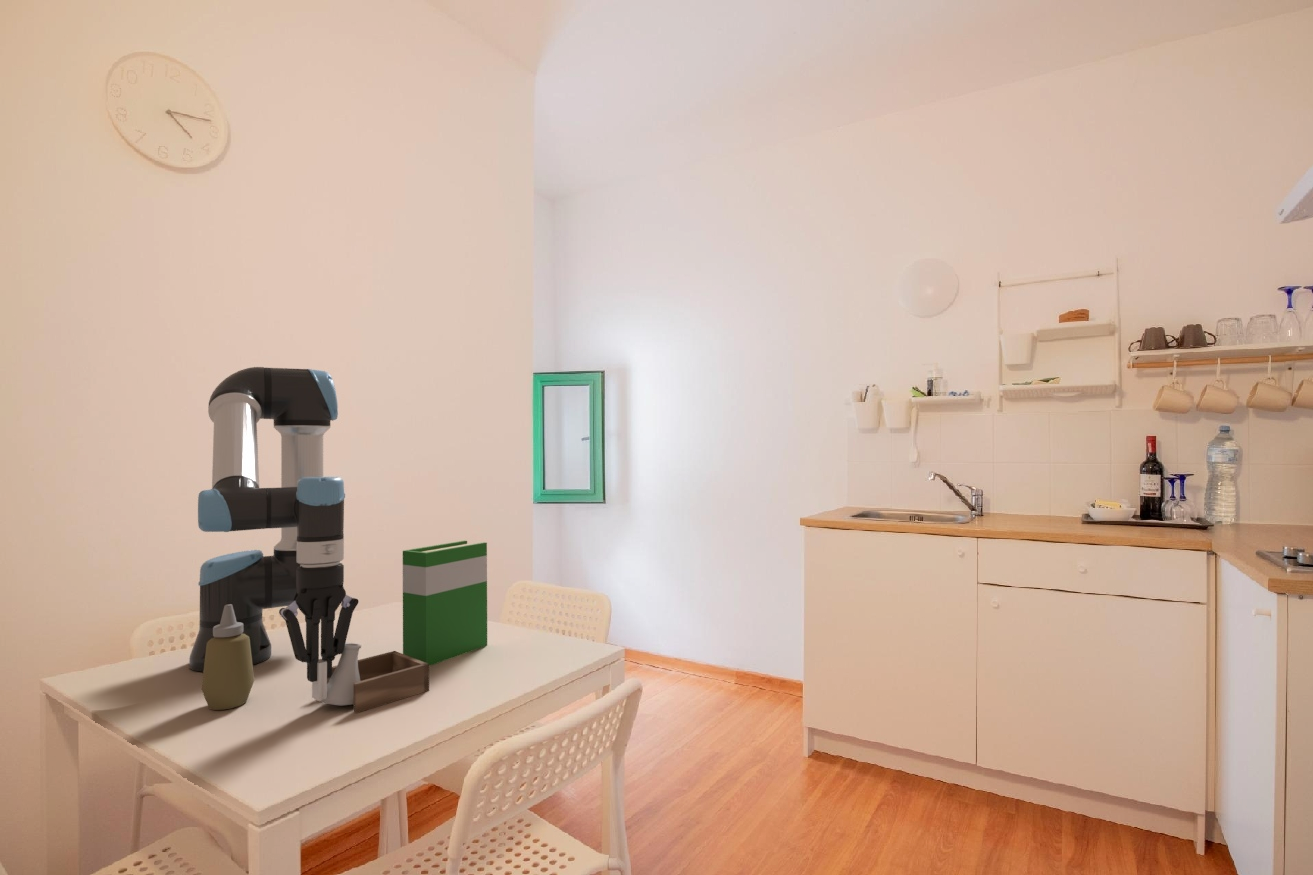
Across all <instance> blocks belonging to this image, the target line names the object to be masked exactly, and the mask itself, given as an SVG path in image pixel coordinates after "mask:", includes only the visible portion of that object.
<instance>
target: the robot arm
mask: <svg viewBox="0 0 1313 875" xmlns="http://www.w3.org/2000/svg"><path fill="white" fill-rule="evenodd" d="M208 401H209V402H208V411H207V412H208V417H209V419H210V421H211V422H212V423H213V437H212V438H213V439H212V442H213V445H212V446H213V447H212V468H211V469H212V471H211V472H212V474H211V475H212V476H211V478H212V479H211V488H210V489H204V490H201V491H200V492H199V493H198V496H197V498H198V499H197V524H198V525H197V526H198V528H199V530H200V531H201V532H205V533H211V532H212V533H213V532H216V533H217V532H218V533H220V532H222V533H229V532H240V531H251V530H252V531H253V530H265V529H280V530H281V538H280V541H278V543H277V544H275V545H274V546H273V555H265V556H264V553H263V551H262V550H259V549H254V550H253V549H252V550H244V551H243V550H242V551H237V552H232V553H227V554H223V555H220V556H215V557H213V558H210V559H207V560H206V561H205V562H203V563H202V564H201V566H200V570H199V582H198V583H197V584H198V586H199V629H198V633H197V636H196V639H195V642H194V644H193V646H192V649H191V651H190V655H189V659H188V660H189V664H188V665H189V666H188V667H189V669H190V670H192V671H196V672H202V673H203V671H204V663H205V654H206V646H207V642H208V641H209V640H210V639H211V638H214V636H213V627H214V626H216V625H219V624H220V622H221V618H222V614H223V610H224V606H225V605H229V604H232V606H233V610H234V614H235V617H236V621H237V622H241V623H243V634H246V635H247V636H249V639H250V647H251V656H252V664H253V666H254V665H256V664H257V665H258V664H260V663H262V662H264V661H266V660H268V659H270V658H271V656H272V643H271V640H270V638H269V637H270V636H268V632H267V630H266V627H265V625H264V622H263V610H265V609H275V608H280V609H279V611H278V614H279V615H280V617H282V619H283V621H285V626H286V629H287V632H288V637H289V639H290V644H291V646H292V651H293V654H294V658H295V659H296V661H300V662H302V663H306V679H307V681H308V682H310V683H311V684H312V685H311V688H312V689H311V691H312V693H311V698H312V699H314V700H316V701H318V702H321V700H324V699H326V698H327V678H330V677H331V675H332V667H333V661H334V660H335V658H336V656H337V655H341V654H342V653H343V651H344V647H345V643H347V638H348V634H349V629H350V625H351V621H352V617H353V613H354V611H355V609H356V607H357V606H358V604H359V599H358V598H355V597H351V596H350V595H348V594H347V592H346V590H345V587H344V581H345V580H344V575H345V571H344V570H345V565H344V564H343V563H342V561H343V560H344V559H345V556H344V554H345V550H344V549H345V545H344V544H345V541H344V540H345V538H344V537H345V536H344V526H345V525H344V523H345V522H344V520H345V519H344V518H345V516H344V515H345V514H344V513H345V498H346V493H345V484H344V479H343V478H342V477H339V476H324V435H325V433H326V432H327V431H329V429H330V428H331V422H332V421H333V422H334V421H335V420H337V419H338V415H339V413H338V412H339V411H338V408H339V406H338V398H337V390H336V387H335V382H334V380H333V377H332V376H331V374H330V373H329V372H327V371H325V370H318V369H312V368H311V369H310V368H286V367H284V368H283V367H263V366H254V367H247V368H243V369H240V370H238V371H236V372H234V373H232V374H230V375H229V376H227V377H226V378H224V379H223V380H222V381H221V382H220V383H219V384H218V385H217V386H216V387H215V388H214V390H213V391H212V394H211V395H210V398H209V399H208ZM261 419H262V420H273V428H274V430H276V431H277V432H278V433H279V434H280V436H281V440H280V442H281V443H280V445H281V454H280V456H281V458H280V460H281V469H280V470H281V474H280V475H281V478H280V480H281V487H260V474H259V471H260V470H259V448H258V446H259V445H258V426H257V424H258V422H259V421H260V420H261ZM340 605H341V607H340ZM339 607H340V610H339V611H340V612H339V615H338V619H337V621H336V622H337V623H336V627H334V626H335V620H336V611H337V610H338V608H339ZM298 610H299V611H300V613H302V614H303V616H304V620H305V642H304V638H303V634H302V629H301V626H300V622H299V619H298V617H297V616H298V613H299V612H298ZM319 625H320V626H319ZM319 645H320V646H319ZM319 651H320V652H319ZM319 657H321V658H319Z"/></svg>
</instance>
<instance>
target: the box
mask: <svg viewBox="0 0 1313 875" xmlns="http://www.w3.org/2000/svg"><path fill="white" fill-rule="evenodd" d="M336 667H337V665H332V675H333V673H334V671H335V669H336ZM358 670H359V676H360V681H359V682H356V683H354V704H353V712H354V713H355V714H358V713H362V712H364V711H368V710H371V709H374V708H376V707H377V708H378V707H380V706H383V705H386V704H391V703H393V702H396V701H399V700H404V699H405V698H409V697H412V696H415V695H418V694H422V693H424V692H428V691H430V666H429V664H428V663H425V662H423V661H420V660H417V659H415V658H412V657H410V656H407V655H404V654H403V652H402V653H401V652H399V651H396V650H393V651H388V652H385V653H380V654H377V655H373V656H368V657H364V658H362V659H358ZM332 675H331V676H332ZM330 678H331V677H330ZM330 678H327V683H328V682H329V680H330Z"/></svg>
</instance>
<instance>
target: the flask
mask: <svg viewBox="0 0 1313 875" xmlns="http://www.w3.org/2000/svg"><path fill="white" fill-rule="evenodd" d="M361 648H362V644H360V643H355V642H354V643H353V642H346V643H345V647H344V651H343V653H342V654H340V658H339V660H338V663H337V665H336V666H337V667H336V669H335V671H334V673H333V675H332V676H331V678H330V680H329V682H328V683H327V698H326V699H324V700H321V701H320V702H321V703H323V704H327V705H332V706H333V705H334V706H348V705H350V706H351V705H354V683H356V682H359V681H360V676H359V670H358V660H359V659H358V658H359V651H360V649H361Z"/></svg>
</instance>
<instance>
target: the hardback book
mask: <svg viewBox="0 0 1313 875" xmlns="http://www.w3.org/2000/svg"><path fill="white" fill-rule="evenodd" d="M487 546H488V542H485V541H484V542H478V543H473V544H469V543H468V540H460V541H454V542H447V543H441V544H436V545H429V546H424V547H417V548H411V549H405V550H404V549H403V550H402V654H404V655H407V656H410V657H412V658H415V659H417V660H420V661H423V662H425V663H428V664H429V667H431V666H432V665H435V664H438V663H441V662H444V661H448V660H451V659H453V658H457V657H458V656H462V655H464V654H466V653H469V652H473V651H476V650H478V649H481V648H484V647H486V646H488V547H487Z"/></svg>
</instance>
